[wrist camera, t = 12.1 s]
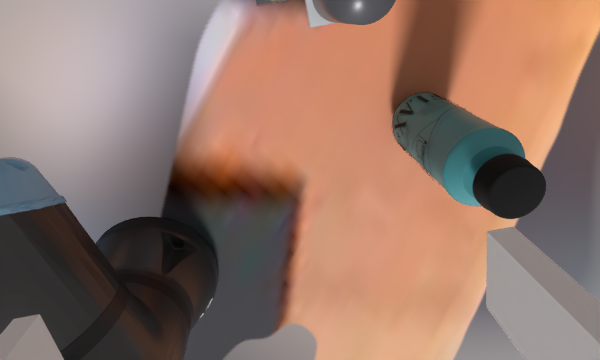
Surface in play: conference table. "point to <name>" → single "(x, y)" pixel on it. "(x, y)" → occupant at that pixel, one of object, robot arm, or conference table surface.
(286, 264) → the conference table surface
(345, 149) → the conference table surface
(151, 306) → the robot arm
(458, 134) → the beverage bottle
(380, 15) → the open tray with handle
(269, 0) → the bay
